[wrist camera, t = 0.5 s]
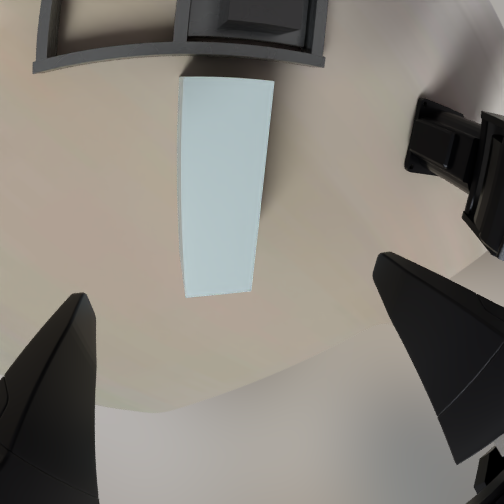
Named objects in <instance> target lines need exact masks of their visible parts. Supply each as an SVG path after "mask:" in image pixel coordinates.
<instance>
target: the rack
mask: <svg viewBox="0 0 504 504" xmlns="http://www.w3.org/2000/svg"><path fill="white" fill-rule="evenodd" d="M61 2H62V0H42V1H41V8H40V15H39V24H38V34H37V48H36V61H35V62H33V74H37V73H45V72H50V71H54V70H58V69H63V68H68V67H73V66H78V65H84V64H90V63H97V62H104V61H111V60H120V59H130V58H142V57H159V56H220V57H237V58H250V59H260V60H269V61H277V62H284V63H291V64H297V65H303V66H309V67H322V68H324V65H325V57H323V47H324V38H325V28H326V18H327V8H328V0H177V3H176V12H175V22H174V33H173V42H156V43H140V44H129V45H119V46H111V47H103V48H97V49H90V50H84V51H79V52H74V53H69V54H64V55H59V56H56V54H57V38H58V26H59V17H60V9H61ZM190 2H191V5H190ZM189 11H190V14H189ZM188 21H189V24H188ZM187 32H188V34H187ZM187 37H213V38H230V39H243V40H253V41H261V42H269V43H276V44H283V45H289V46H295V47H301V52H298V51H292V50H286V49H279V48H272V47H264V46H256V45H246V44H234V43H218V42H187Z"/></svg>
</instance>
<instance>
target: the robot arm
mask: <svg viewBox="0 0 504 504" xmlns="http://www.w3.org/2000/svg"><path fill="white" fill-rule="evenodd" d="M423 103H424V105H423ZM481 118H482V122H481V124H478V123H476V122H473V121H471V120H468V119H466V118H464V116H463V114H461V113H459V112H457V111H454V110H452V109H450V108H447V107H445V106H443V105H440V104H438V103H435V102H433V101H430V100H428V99H425V98H420V99H419V100H418V104H417V109H416V115H415V120H414V125H413V130H412V135H411V139H410V144H409V148H408V152H407V157H406V161H405V166H404V167H405V169H406V170H407V171H409V172H413V173H420V174H427V175H434V176H440V177H441V178H443V179H445V180H446V181H448V182H450V183H451V184H453V185H455V186H456V187H458V188H459V189H461V190H463V191H464V192H466V193H467V194H469V195H468V199H467V203H466V207H465V211H463V214H462V219H463V220H464V221H465V222H466V223H467V225H468V226H469V227H470V228H471V230H472V231H473V232H474V233H475V234H476V236H477V237H478V238H479V240H480V241H481V242H482V243H483V245H484V246H485V247H486V248H487V250H488V251H489V252H490V253H491V254H492V255H493V256H495V257H497V258H498V259H500V260H503V261H504V116H503V115H498V114H494V113H490V112H485V111H481ZM373 280H374V283H375V285H376V287H377V289H378V292H379V294H380V296H381V299H382V301H383V303H384V306H385V308H386V310H387V313H388V315H389V317H390V319H391V321H392V323H393V325H394V327H395V329H396V331H397V332H398V334H399V336H400V338H401V340H402V342H403V344H404V346H405V348H406V350H407V352H408V354H409V356H410V358H411V360H412V362H413V364H414V366H415V368H416V370H417V373H418V374H419V377H420V379H421V381H422V383H423V385H424V388H425V390H426V392H427V394H428V396H429V398H430V401H431V403H432V405H433V408H434V410H435V412H436V415H437V416H438V420H439V422H440V425H441V427H442V429H443V432H444V434H445V437H446V440H447V442H448V445H449V447H450V450H451V453H452V455H453V458H454V461H455V463H456V464H457V465H458V464H459V463H462V462H463V461H465V460H466V459H468V458H470V457H471V456H473V455H474V454H476V453H477V452H479V451H480V450H482V449H483V448H485V447H486V446H487V445H489V444H491V443H492V442H494V444H495V446H494V447H493V448H491V449H490V450H489V451H488V452H487V453H486V454H485V455H484V456H482V457H481V458H480V460H479V465H478V470H477V475H476V479H475V484H474V488H475V490H476V492H477V495H476V496H475V497H474V498H472V499H471V500H470V501H469V502H468V503H466V504H504V307H502V306H500V305H498V304H496V303H494V302H492V301H490V300H488V299H486V298H484V297H482V296H480V295H478V294H476V293H474V292H473V291H471V290H469V289H467V288H465V287H463V286H461V285H459V284H457V283H455V282H452V281H451V280H449V279H447V278H445V277H443V276H441V275H439V274H437V273H435V272H433V271H431V270H429V269H427V268H424V267H422V266H420V265H418V264H416V263H414V262H412V261H410V260H408V259H405V258H403V257H401V256H399V255H397V254H395V253H392V252H383V253H380V254H379V255H378V257H377V260H376V264H375V267H374V270H373ZM96 367H97V365H96V317H95V313H94V311H93V308H92V306H91V304H90V301H89V299H88V296H87V295H86V294H85V293H83V292H82V293H74V294H71V295H70V296H69V298H68V299H67V300H66V301H65V302H64V303H63V304H62V305H61V306H60V307H59V309H58V310H57V311H56V312H55V313H54V314H53V315H52V316H51V318H50V319H49V320H48V321H47V322H46V323H45V325H44V326H43V327H42V328H41V329H40V330H39V332H38V333H37V334H36V335H35V336H34V338H33V339H32V340H31V341H30V343H29V344H28V345H27V346H26V347H25V349H24V350H23V351H22V352H21V354H20V355H19V356H18V358H17V359H16V360H15V361H14V363H13V364H12V365H11V367H10V368H9V369H8V371H7V372H6V373H5V375H4V376H5V377H2V378H1V380H0V504H99V499H98V487H97V475H96V459H95V387H96Z"/></svg>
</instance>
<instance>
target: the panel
mask: <svg viewBox="0 0 504 504" xmlns="http://www.w3.org/2000/svg"><path fill="white" fill-rule="evenodd" d="M273 90H274V81H269V80H259V79H248V78H233V77H203V76H183V77H179V96H178V125H177V200H178V231H179V252H180V261H181V268H182V276H183V283H184V290H185V297H186V298H189V297H199V296H209V295H219V294H229V293H238V292H247V291H251V288H252V279H253V271H254V262H255V253H256V244H257V235H258V226H259V217H260V209H261V200H262V191H263V182H264V173H265V164H266V154H267V145H268V136H269V127H270V118H271V109H272V100H273Z"/></svg>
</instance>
